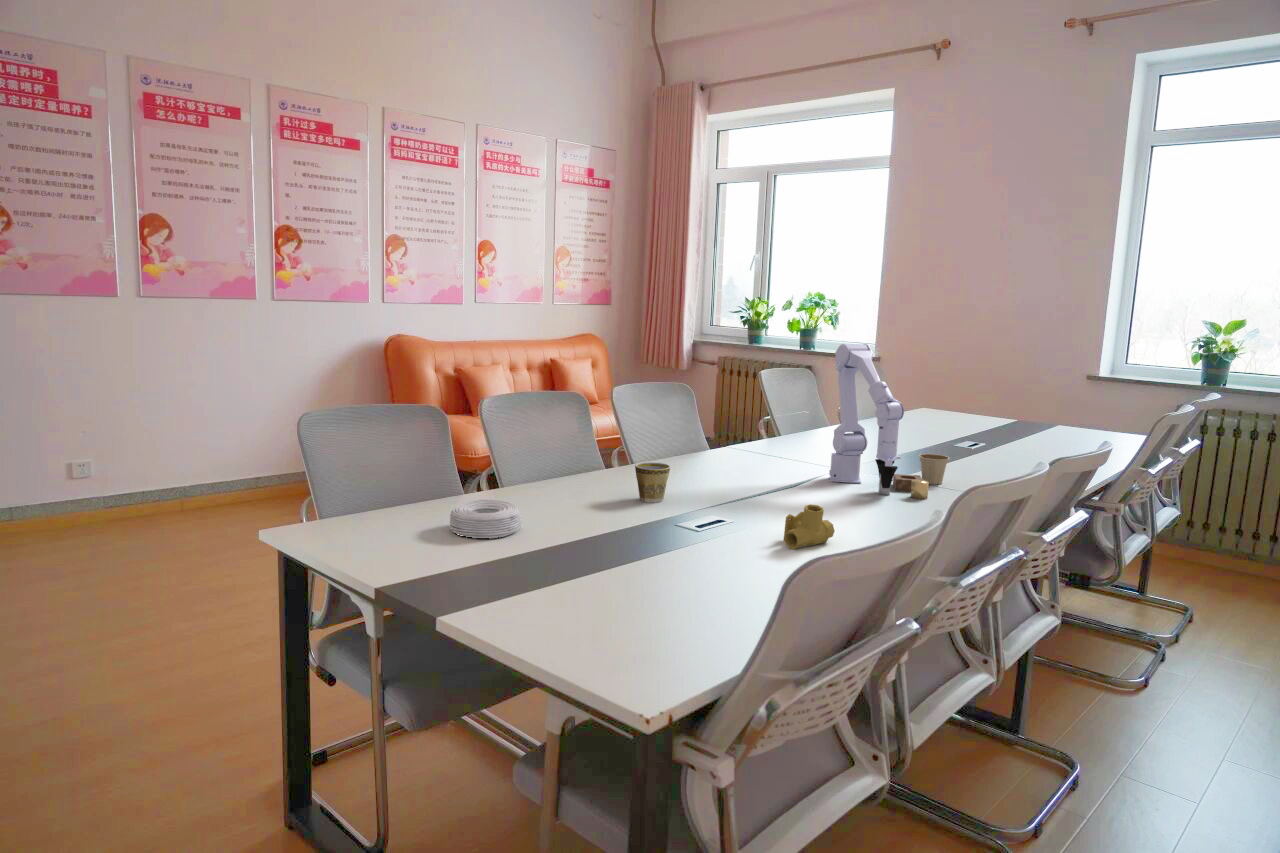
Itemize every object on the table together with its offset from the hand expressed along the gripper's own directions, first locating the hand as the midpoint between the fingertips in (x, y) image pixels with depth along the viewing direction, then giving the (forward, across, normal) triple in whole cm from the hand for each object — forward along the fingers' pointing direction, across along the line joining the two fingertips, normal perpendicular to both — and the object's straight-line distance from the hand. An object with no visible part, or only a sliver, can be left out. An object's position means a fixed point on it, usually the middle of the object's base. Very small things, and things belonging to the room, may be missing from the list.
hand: (884, 485), depth 260 cm
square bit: (+3, 0, 0) cm, 3 cm away
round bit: (+3, -2, -10) cm, 10 cm away
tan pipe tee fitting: (+3, -59, +24) cm, 64 cm away
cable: (+3, -69, +101) cm, 123 cm away
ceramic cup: (+3, -26, +67) cm, 72 cm away
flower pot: (+3, +21, -17) cm, 27 cm away
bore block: (+3, +10, -8) cm, 13 cm away
